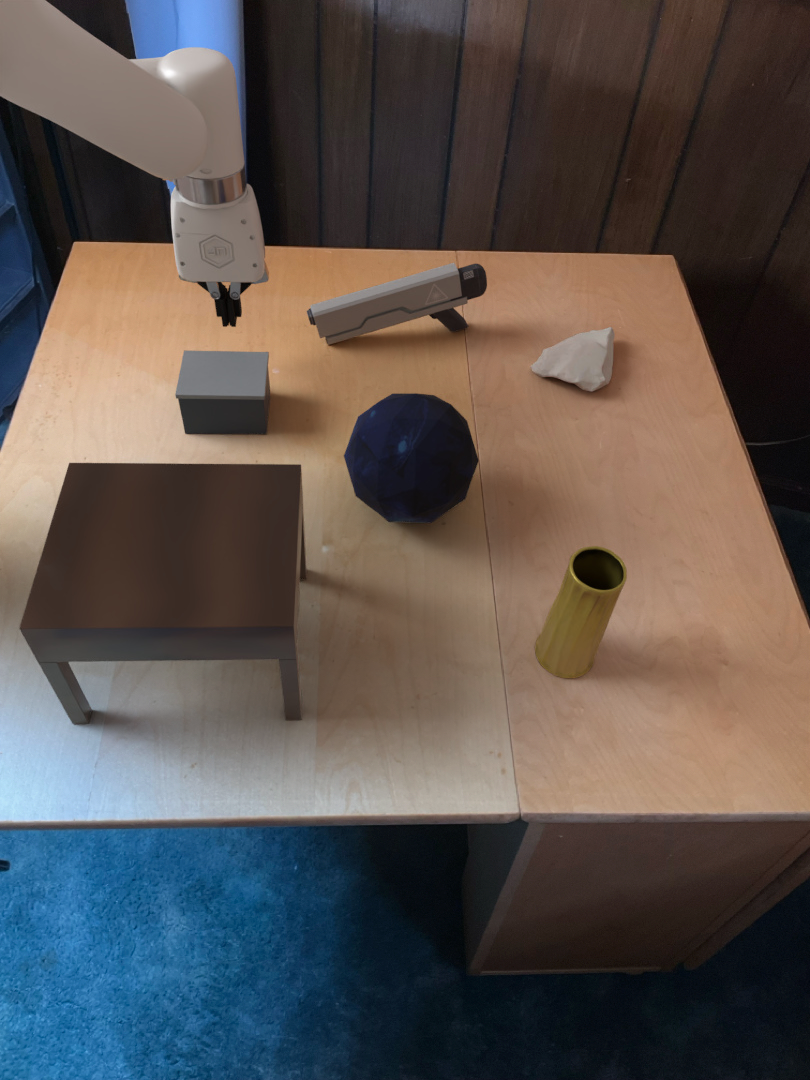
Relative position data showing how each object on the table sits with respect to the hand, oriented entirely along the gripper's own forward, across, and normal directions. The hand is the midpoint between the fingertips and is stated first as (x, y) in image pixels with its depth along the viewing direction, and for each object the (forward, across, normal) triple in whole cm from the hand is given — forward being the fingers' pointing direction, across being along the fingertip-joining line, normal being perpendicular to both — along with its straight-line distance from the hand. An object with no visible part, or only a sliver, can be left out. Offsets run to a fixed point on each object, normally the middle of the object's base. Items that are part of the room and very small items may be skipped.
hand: (230, 320), depth 102 cm
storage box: (+7, 0, -9) cm, 12 cm away
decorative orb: (+8, +22, -24) cm, 33 cm away
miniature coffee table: (+7, 0, -43) cm, 44 cm away
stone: (+8, +48, +2) cm, 48 cm away
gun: (+8, +22, +8) cm, 24 cm away
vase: (+8, +37, -45) cm, 59 cm away
